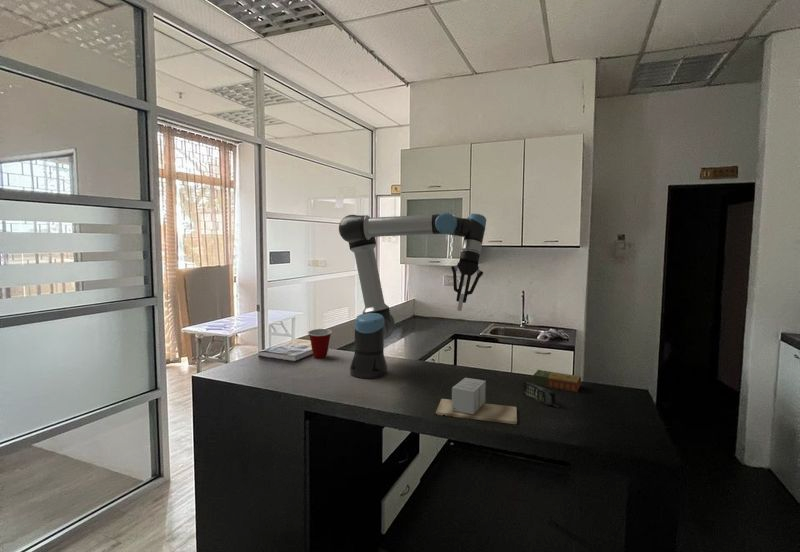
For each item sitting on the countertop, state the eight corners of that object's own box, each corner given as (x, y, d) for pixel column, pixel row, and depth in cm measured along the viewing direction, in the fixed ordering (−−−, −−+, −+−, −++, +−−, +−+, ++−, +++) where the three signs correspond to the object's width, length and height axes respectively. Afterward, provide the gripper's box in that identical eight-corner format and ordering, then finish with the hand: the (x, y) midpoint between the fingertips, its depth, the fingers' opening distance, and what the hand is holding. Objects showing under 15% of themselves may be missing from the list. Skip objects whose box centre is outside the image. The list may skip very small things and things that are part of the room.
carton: (577, 393, 152) (577, 381, 151) (531, 385, 160) (532, 374, 160) (580, 386, 159) (581, 375, 159) (537, 379, 167) (537, 368, 167)
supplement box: (486, 402, 138) (473, 415, 126) (464, 398, 141) (450, 410, 130) (486, 380, 137) (474, 391, 126) (465, 376, 140) (451, 387, 129)
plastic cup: (303, 359, 188) (304, 332, 187) (312, 353, 199) (313, 328, 198) (327, 360, 186) (327, 334, 185) (334, 354, 197) (335, 329, 196)
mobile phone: (521, 381, 148) (554, 393, 135) (528, 380, 150) (561, 392, 136) (521, 395, 149) (553, 409, 135) (528, 393, 150) (560, 407, 136)
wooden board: (435, 414, 129) (435, 412, 129) (441, 400, 140) (441, 398, 140) (516, 424, 123) (517, 421, 123) (516, 409, 134) (516, 406, 134)
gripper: (486, 257, 170) (475, 314, 167) (455, 251, 173) (443, 308, 170) (487, 253, 163) (475, 312, 160) (454, 247, 166) (442, 305, 162)
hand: (459, 310), depth 165 cm, fingers closed
